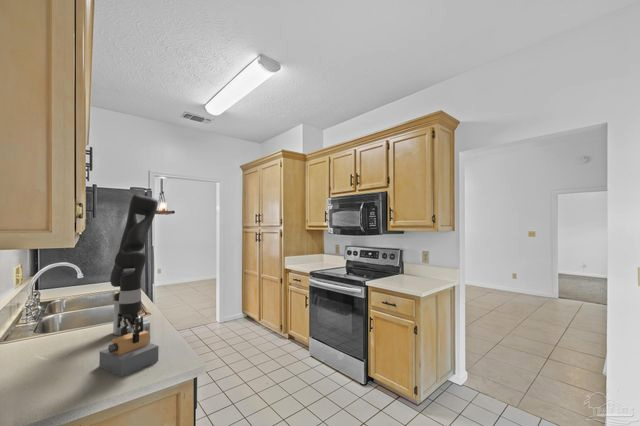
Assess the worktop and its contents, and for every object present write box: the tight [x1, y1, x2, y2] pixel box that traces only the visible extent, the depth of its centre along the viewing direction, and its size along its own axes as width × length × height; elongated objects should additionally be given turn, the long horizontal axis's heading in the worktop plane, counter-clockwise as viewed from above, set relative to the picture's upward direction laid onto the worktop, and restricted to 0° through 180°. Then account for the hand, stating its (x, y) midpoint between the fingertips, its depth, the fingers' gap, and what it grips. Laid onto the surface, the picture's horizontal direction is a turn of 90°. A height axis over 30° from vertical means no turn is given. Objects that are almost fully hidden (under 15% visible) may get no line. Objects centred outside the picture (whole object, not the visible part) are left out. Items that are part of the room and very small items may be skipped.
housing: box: [107, 330, 149, 355], centre depth 116 cm, size 13×6×5 cm, turn 150°
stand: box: [98, 342, 160, 378], centre depth 116 cm, size 16×14×6 cm
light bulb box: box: [126, 318, 151, 343], centre depth 131 cm, size 11×7×11 cm, turn 135°
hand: (129, 340), depth 116 cm, fingers open, 8 cm apart
